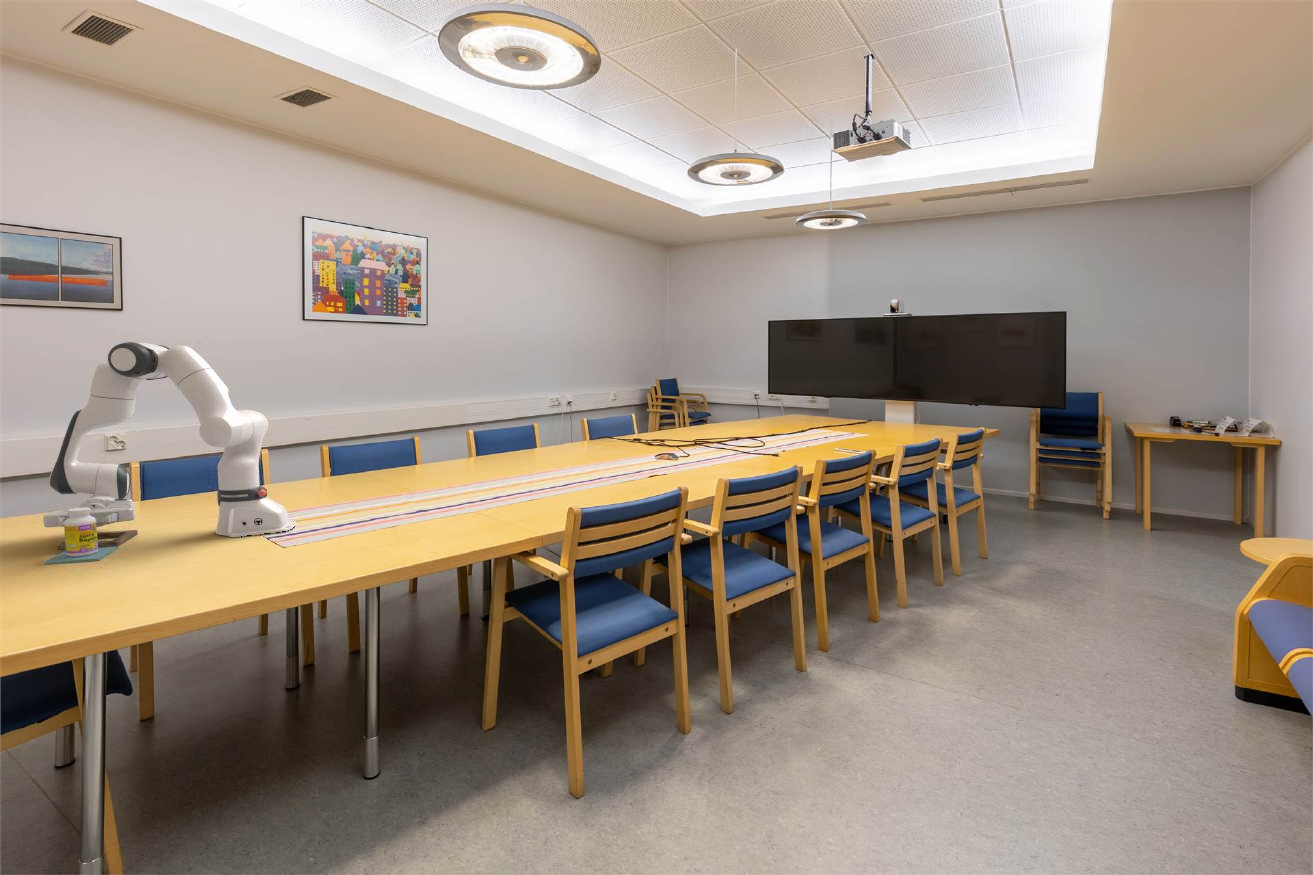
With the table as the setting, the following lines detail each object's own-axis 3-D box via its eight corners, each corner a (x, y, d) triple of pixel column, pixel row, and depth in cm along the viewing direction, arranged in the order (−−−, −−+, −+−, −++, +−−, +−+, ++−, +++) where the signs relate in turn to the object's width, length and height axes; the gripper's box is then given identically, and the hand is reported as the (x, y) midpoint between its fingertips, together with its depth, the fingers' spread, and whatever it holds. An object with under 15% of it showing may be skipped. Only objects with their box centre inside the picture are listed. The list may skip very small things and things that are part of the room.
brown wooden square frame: (137, 534, 200) (137, 529, 200) (117, 546, 187) (117, 541, 187) (82, 537, 195) (81, 533, 195) (57, 550, 182) (57, 545, 182)
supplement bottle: (79, 558, 174) (75, 512, 172) (60, 556, 175) (55, 510, 174) (104, 551, 180) (101, 507, 179) (86, 549, 182) (82, 505, 180)
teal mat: (118, 548, 185) (118, 546, 185) (98, 560, 174) (98, 558, 174) (67, 551, 181) (66, 549, 181) (43, 564, 170) (43, 562, 170)
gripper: (50, 504, 187) (34, 514, 175) (138, 498, 197) (129, 507, 185) (52, 525, 188) (36, 537, 176) (139, 518, 198) (130, 528, 186)
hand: (84, 522), depth 181 cm, fingers open, 8 cm apart
